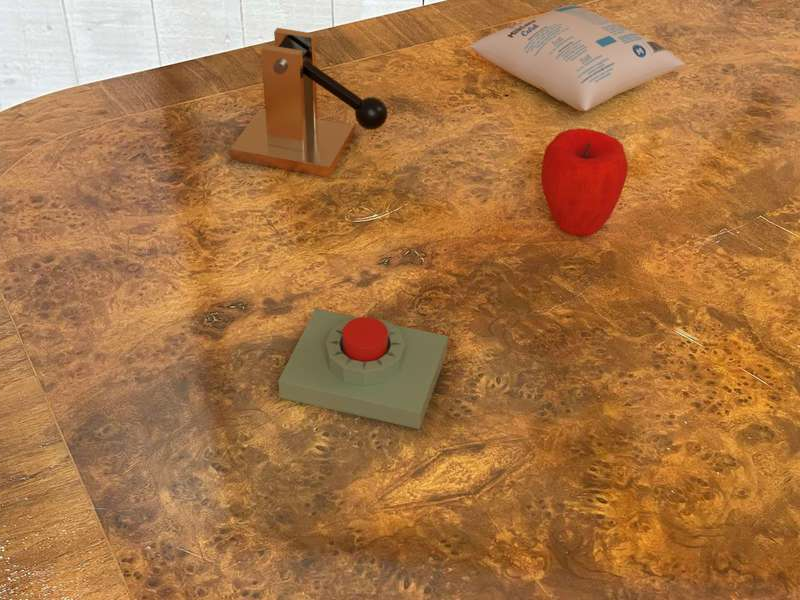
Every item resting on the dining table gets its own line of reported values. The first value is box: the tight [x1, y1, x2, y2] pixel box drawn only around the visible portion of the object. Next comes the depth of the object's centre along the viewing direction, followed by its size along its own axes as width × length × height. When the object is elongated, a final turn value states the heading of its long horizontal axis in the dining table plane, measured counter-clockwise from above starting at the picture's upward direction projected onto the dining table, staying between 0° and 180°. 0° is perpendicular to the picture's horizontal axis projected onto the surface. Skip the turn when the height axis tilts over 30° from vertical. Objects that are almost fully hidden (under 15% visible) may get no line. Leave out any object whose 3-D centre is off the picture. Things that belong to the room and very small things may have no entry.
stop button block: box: [277, 307, 449, 430], centre depth 96 cm, size 13×10×4 cm
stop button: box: [343, 316, 388, 362], centre depth 95 cm, size 4×4×2 cm
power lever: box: [278, 36, 388, 131], centre depth 118 cm, size 14×4×4 cm, turn 75°
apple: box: [540, 128, 629, 237], centre depth 111 cm, size 9×9×11 cm
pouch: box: [468, 4, 686, 112], centre depth 135 cm, size 8×19×20 cm
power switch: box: [230, 27, 355, 178], centre depth 121 cm, size 12×9×14 cm
